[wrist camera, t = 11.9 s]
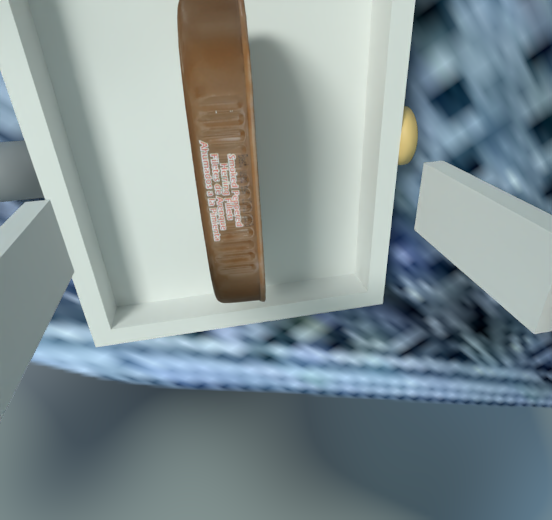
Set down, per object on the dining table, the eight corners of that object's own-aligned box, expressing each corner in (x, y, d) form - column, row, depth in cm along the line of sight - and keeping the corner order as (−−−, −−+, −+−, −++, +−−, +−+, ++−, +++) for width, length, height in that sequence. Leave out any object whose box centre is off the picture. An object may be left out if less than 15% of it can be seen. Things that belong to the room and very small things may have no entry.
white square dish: (411, -96, 21) (450, -120, 17) (376, 276, 32) (396, 302, 28) (-125, -94, 17) (-194, -123, 14) (46, 322, 28) (28, 358, 25)
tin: (257, 255, 28) (281, 333, 20) (210, 261, 27) (218, 343, 20) (237, -8, 20) (264, -33, 13) (173, -6, 20) (164, -30, 12)
